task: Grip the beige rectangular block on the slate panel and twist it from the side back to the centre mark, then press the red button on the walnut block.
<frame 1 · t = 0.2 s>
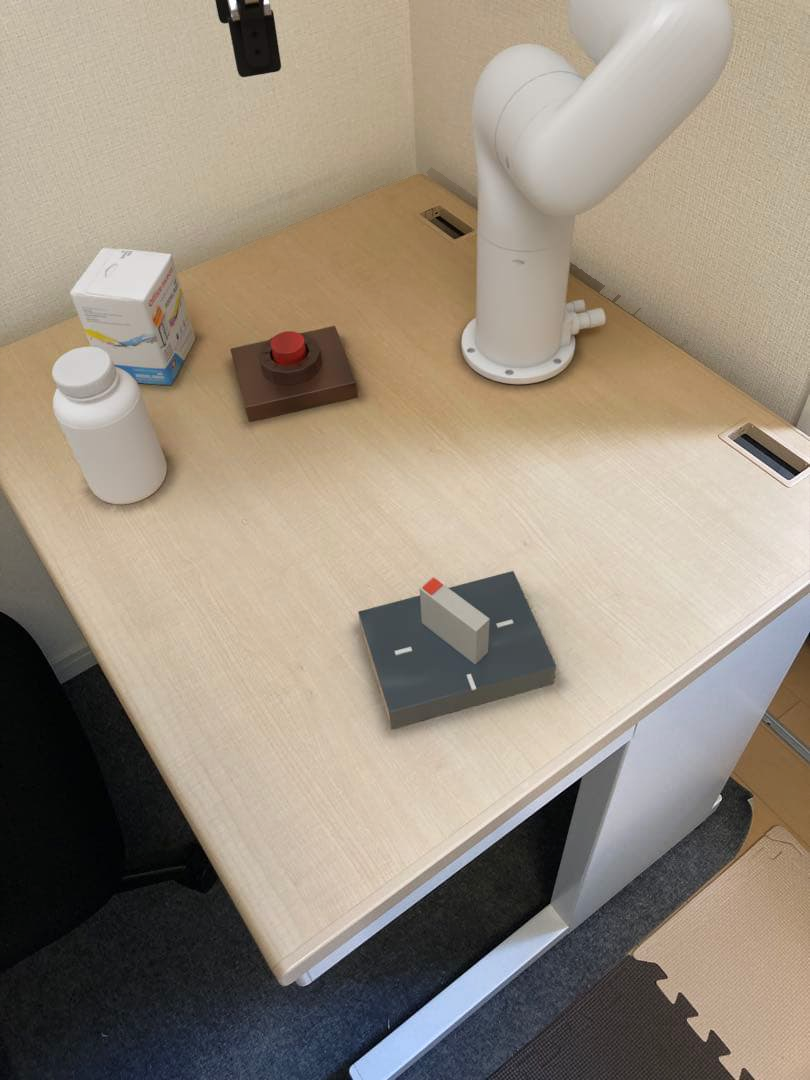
hand: (249, 45, 70), 37 cm above the table, tool pointing down, fingers open, 9 cm apart
button: (288, 348, 97), point 4 cm above the table, slide at 0.1 cm
button block: (294, 380, 100), on the table
ink box: (151, 360, 104), on the table
pill bottle: (130, 478, 93), on the table
tap panel: (454, 656, 78), on the table
beige rectangular block: (454, 620, 73), point 6 cm above the table, hinge at -60.0°
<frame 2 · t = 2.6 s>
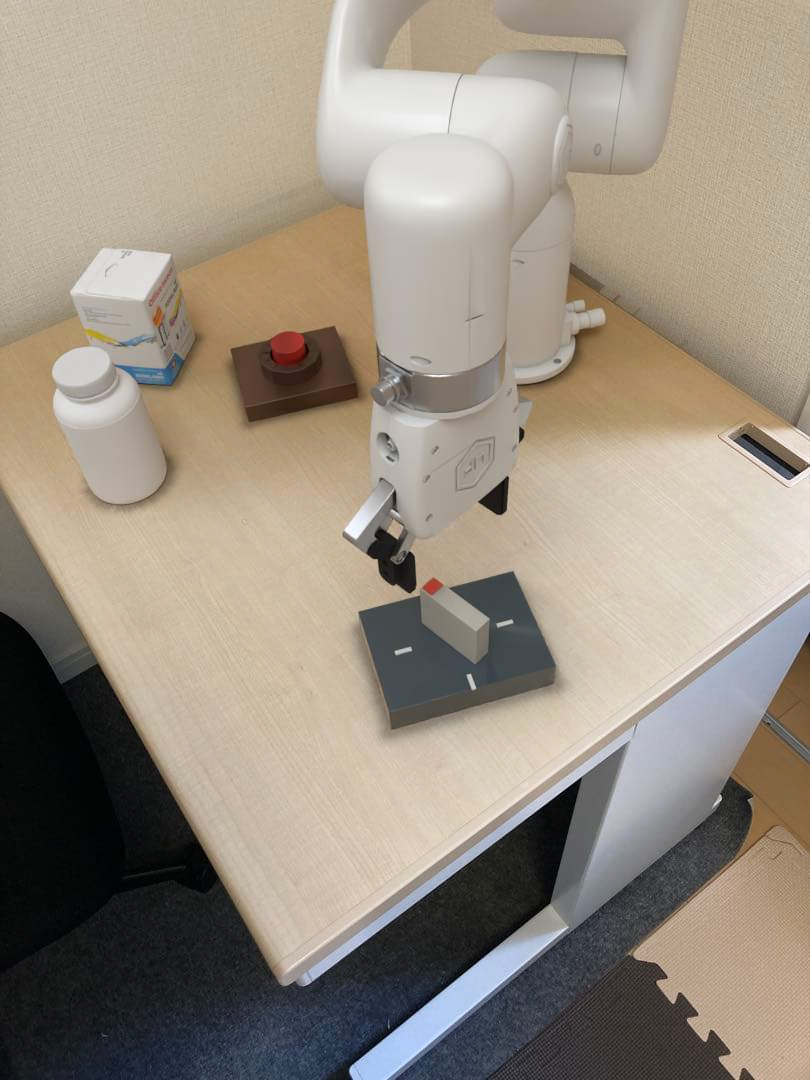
hand: (444, 541, 67), 15 cm above the table, tool pointing down, fingers open, 9 cm apart
nothing on the table moved.
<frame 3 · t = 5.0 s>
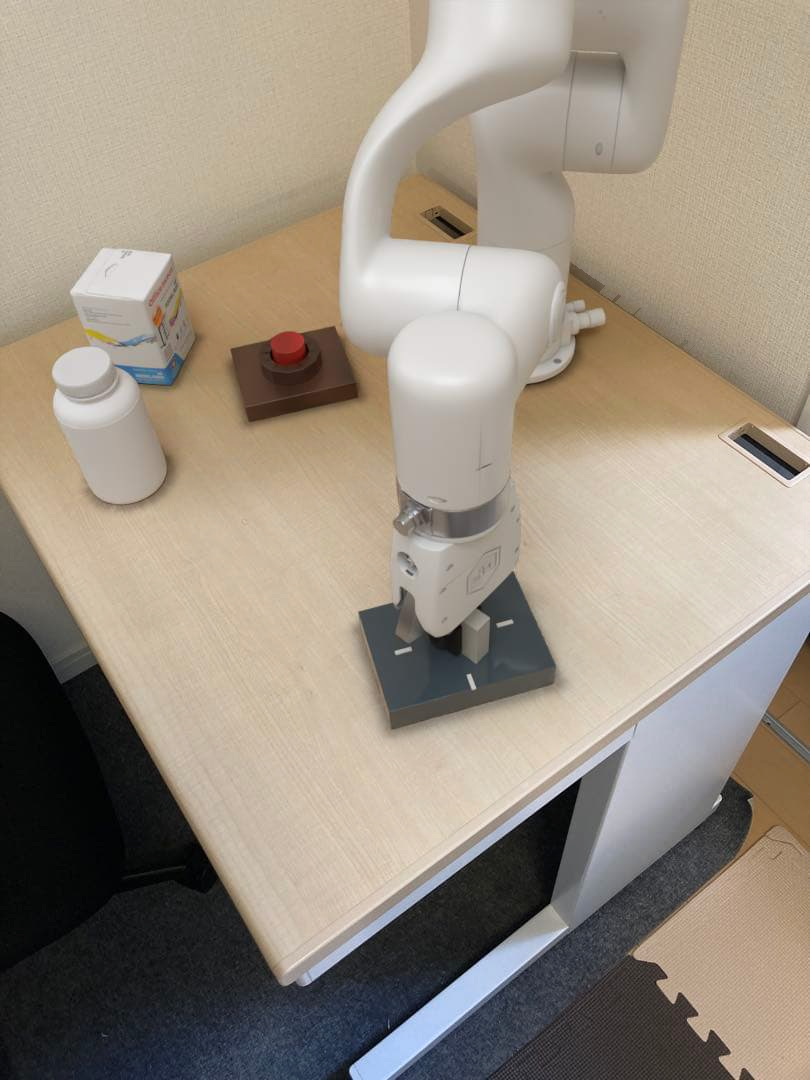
hand: (454, 634, 75), 4 cm above the table, tool pointing down, fingers closed on beige rectangular block
beige rectangular block: (454, 620, 73), point 6 cm above the table, hinge at -58.3°, touching gripper
everything else where it was.
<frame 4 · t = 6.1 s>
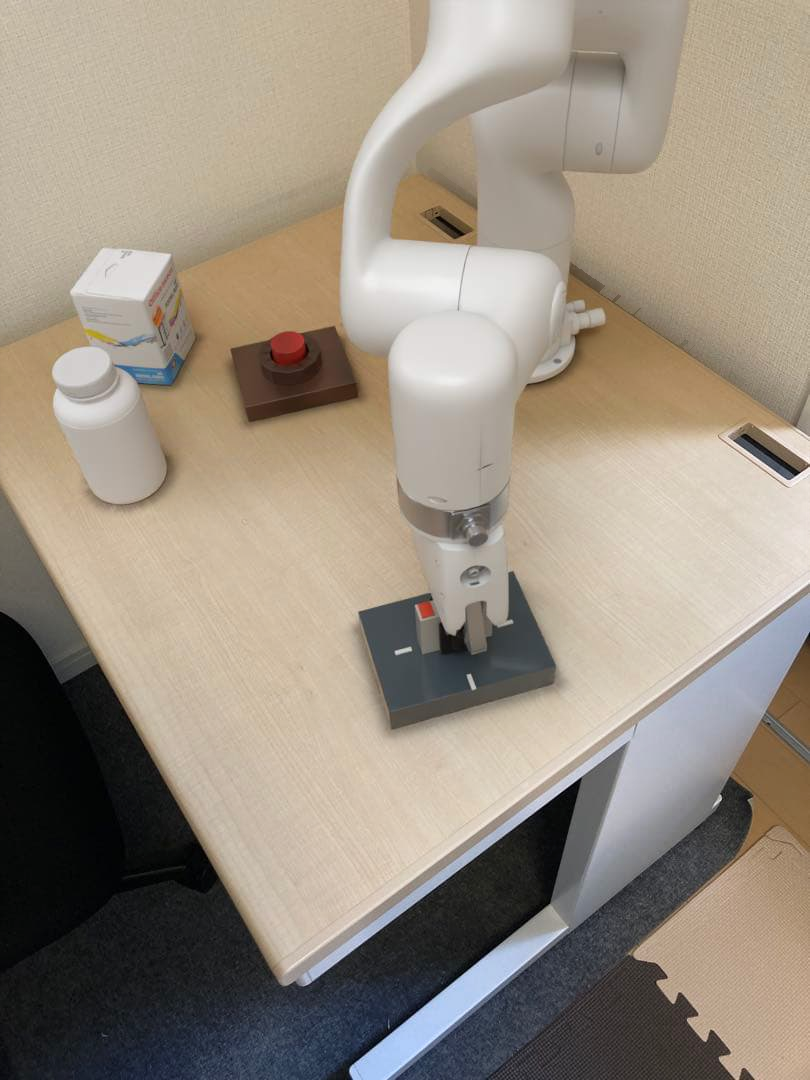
hand: (454, 634, 75), 3 cm above the table, tool pointing down, fingers closed on beige rectangular block
beige rectangular block: (454, 620, 73), point 6 cm above the table, hinge at -0.1°, touching gripper
everything else where it was.
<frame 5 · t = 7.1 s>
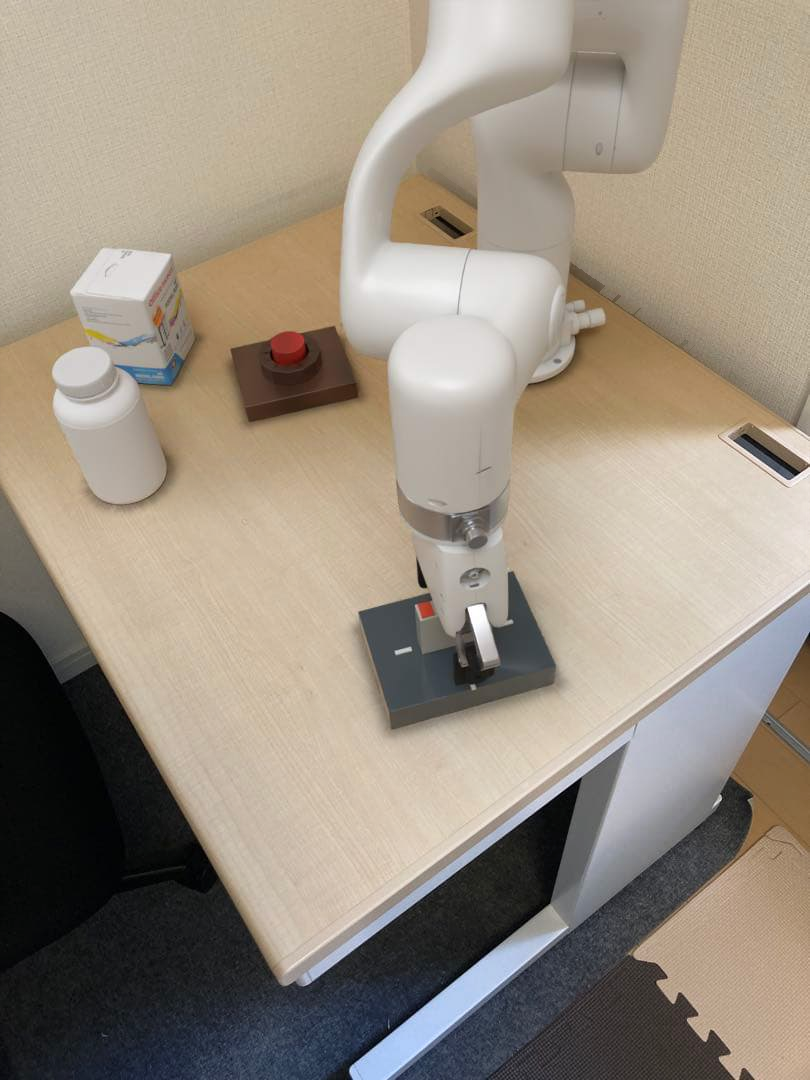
hand: (454, 627, 74), 4 cm above the table, tool pointing down, fingers open, 9 cm apart
beige rectangular block: (454, 620, 73), point 6 cm above the table, hinge at -0.3°
everything else where it was.
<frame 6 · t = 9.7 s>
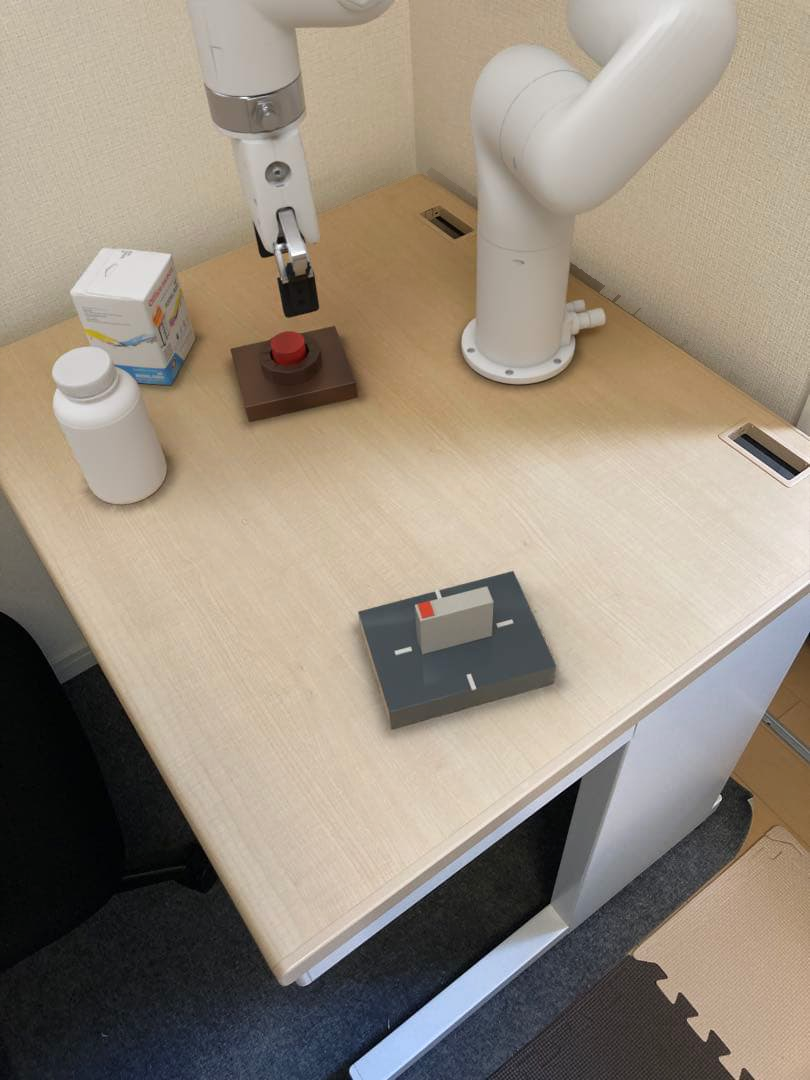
hand: (288, 282, 85), 16 cm above the table, tool pointing down, fingers open, 9 cm apart
nothing on the table moved.
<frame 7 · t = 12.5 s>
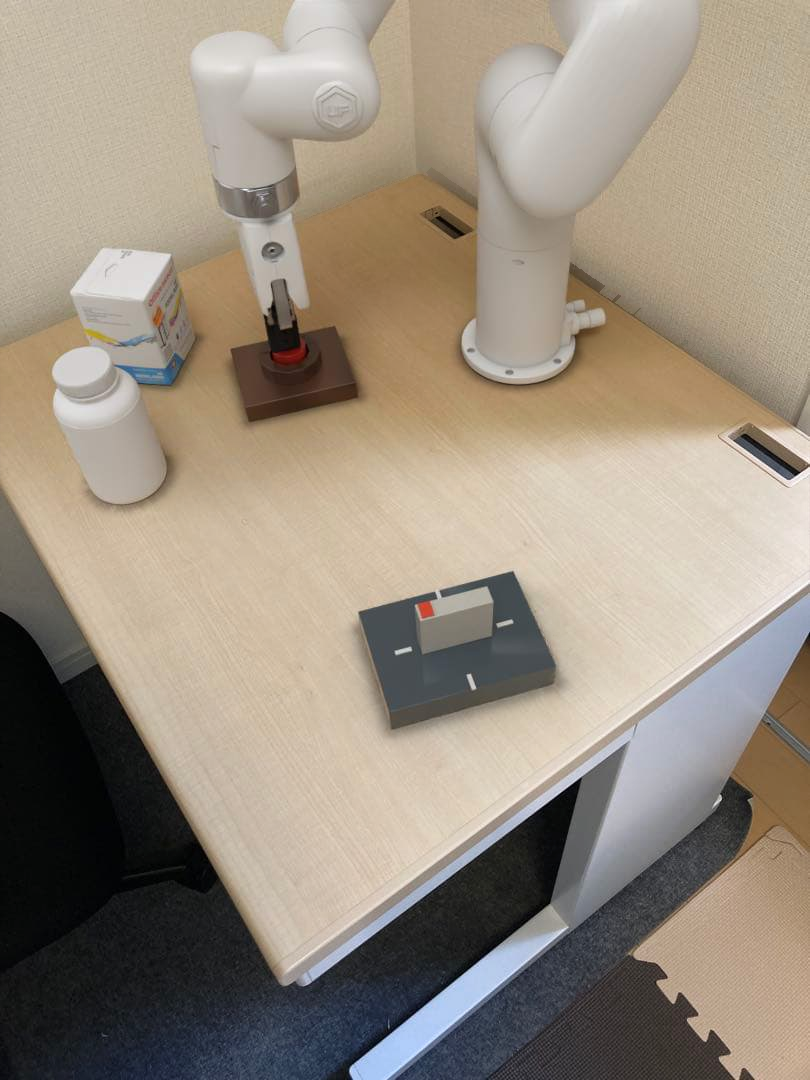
hand: (285, 345, 97), 5 cm above the table, tool pointing down, fingers closed
button: (289, 352, 97), point 4 cm above the table, slide at -0.4 cm, touching gripper
everything else where it was.
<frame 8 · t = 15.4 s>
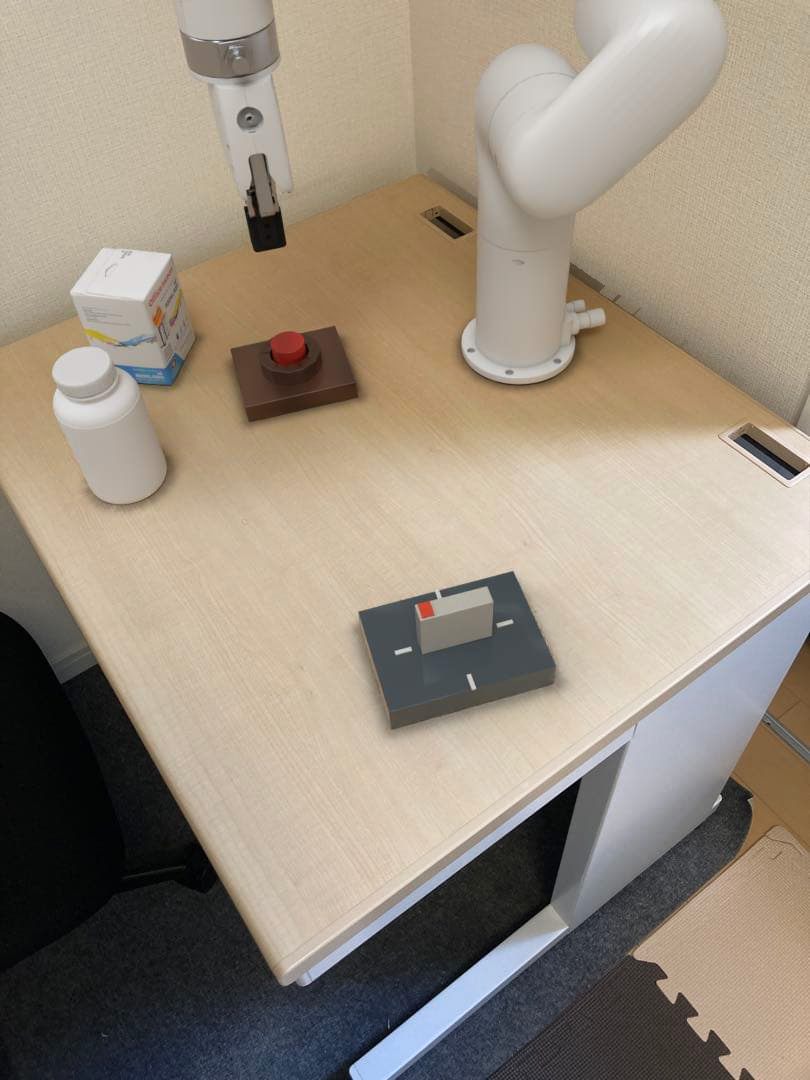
hand: (269, 244, 87), 17 cm above the table, tool pointing down, fingers closed
button: (288, 348, 97), point 4 cm above the table, slide at 0.1 cm
everything else where it was.
at the end: beige rectangular block at +0° (first picture: -60°); button pushed in 1.1 cm at the most during the clip, back to where it started at the end; button slide at 0.1 cm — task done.
